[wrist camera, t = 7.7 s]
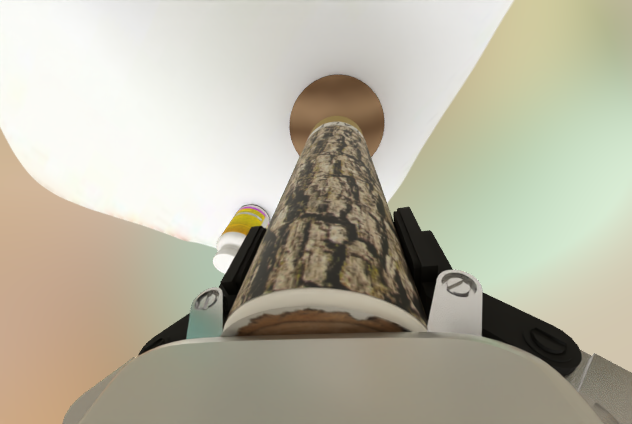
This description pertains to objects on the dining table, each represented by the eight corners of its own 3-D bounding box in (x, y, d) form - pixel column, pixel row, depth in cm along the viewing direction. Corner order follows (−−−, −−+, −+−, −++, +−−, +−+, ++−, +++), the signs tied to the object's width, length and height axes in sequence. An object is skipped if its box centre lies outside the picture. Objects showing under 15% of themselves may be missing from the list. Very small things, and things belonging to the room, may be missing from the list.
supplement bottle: (233, 205, 44) (198, 249, 33) (265, 202, 43) (240, 247, 32) (244, 231, 47) (216, 280, 37) (273, 229, 46) (254, 278, 36)
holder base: (279, 87, 32) (233, 103, 18) (379, 62, 30) (416, 59, 16) (303, 177, 39) (283, 237, 25) (385, 163, 37) (413, 222, 23)
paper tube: (347, 177, 30) (363, 426, 9) (300, 155, 29) (200, 381, 8) (374, 130, 27) (502, 361, 6) (323, 103, 26) (246, 266, 5)
